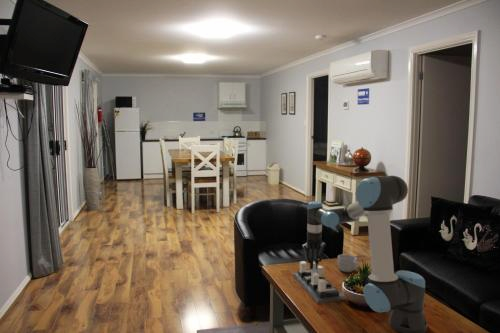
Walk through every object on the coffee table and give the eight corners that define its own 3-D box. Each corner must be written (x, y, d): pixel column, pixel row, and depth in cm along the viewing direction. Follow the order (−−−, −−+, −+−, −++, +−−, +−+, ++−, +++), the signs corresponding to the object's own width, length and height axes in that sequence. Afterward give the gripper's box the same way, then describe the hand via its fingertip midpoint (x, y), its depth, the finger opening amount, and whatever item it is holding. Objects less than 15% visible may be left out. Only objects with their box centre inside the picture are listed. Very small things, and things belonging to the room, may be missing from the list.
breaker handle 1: (306, 272, 216) (306, 263, 215) (301, 272, 215) (301, 263, 214) (304, 269, 219) (304, 261, 218) (299, 270, 218) (299, 261, 218)
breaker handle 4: (325, 291, 193) (326, 281, 192) (320, 292, 192) (320, 282, 191) (323, 288, 196) (323, 278, 195) (317, 289, 195) (318, 279, 195)
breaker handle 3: (323, 276, 210) (323, 267, 209) (318, 277, 209) (318, 268, 208) (320, 274, 213) (320, 265, 212) (315, 274, 212) (316, 265, 211)
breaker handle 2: (318, 284, 201) (319, 275, 200) (313, 285, 200) (314, 275, 199) (316, 281, 204) (316, 272, 203) (311, 282, 203) (311, 273, 202)
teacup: (333, 267, 233) (334, 254, 232) (350, 265, 236) (350, 252, 235) (346, 277, 220) (346, 263, 219) (363, 274, 223) (364, 261, 222)
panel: (344, 299, 193) (344, 291, 193) (317, 303, 190) (317, 295, 189) (316, 273, 224) (316, 266, 223) (293, 276, 220) (293, 269, 220)
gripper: (322, 228, 212) (321, 270, 215) (299, 230, 209) (299, 273, 212) (329, 232, 205) (327, 276, 208) (305, 234, 201) (304, 278, 205)
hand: (313, 274), depth 210 cm, fingers closed
